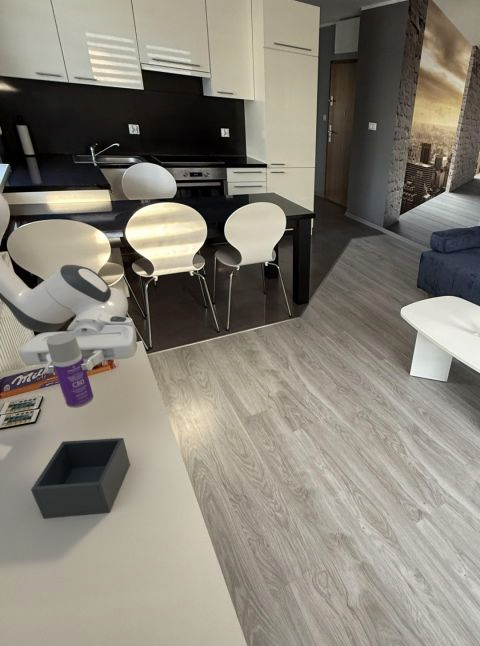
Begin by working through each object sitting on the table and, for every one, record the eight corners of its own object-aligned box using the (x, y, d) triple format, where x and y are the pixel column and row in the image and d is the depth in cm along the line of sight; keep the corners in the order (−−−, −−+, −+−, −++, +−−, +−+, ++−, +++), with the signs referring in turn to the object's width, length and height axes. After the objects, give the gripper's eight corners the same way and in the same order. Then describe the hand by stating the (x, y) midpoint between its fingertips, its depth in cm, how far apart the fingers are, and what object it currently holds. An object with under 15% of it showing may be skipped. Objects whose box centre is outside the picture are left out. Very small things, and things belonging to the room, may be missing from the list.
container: (81, 409, 79) (61, 346, 72) (60, 405, 79) (38, 342, 72) (99, 394, 83) (81, 333, 76) (78, 391, 83) (59, 330, 77)
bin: (43, 518, 74) (30, 489, 71) (72, 468, 84) (62, 441, 80) (109, 512, 76) (100, 484, 73) (130, 464, 86) (123, 437, 83)
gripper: (33, 322, 84) (-2, 359, 72) (139, 317, 89) (123, 351, 78) (42, 347, 87) (9, 387, 75) (144, 341, 92) (128, 377, 80)
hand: (68, 369), depth 76 cm, fingers closed on container, 4 cm apart
